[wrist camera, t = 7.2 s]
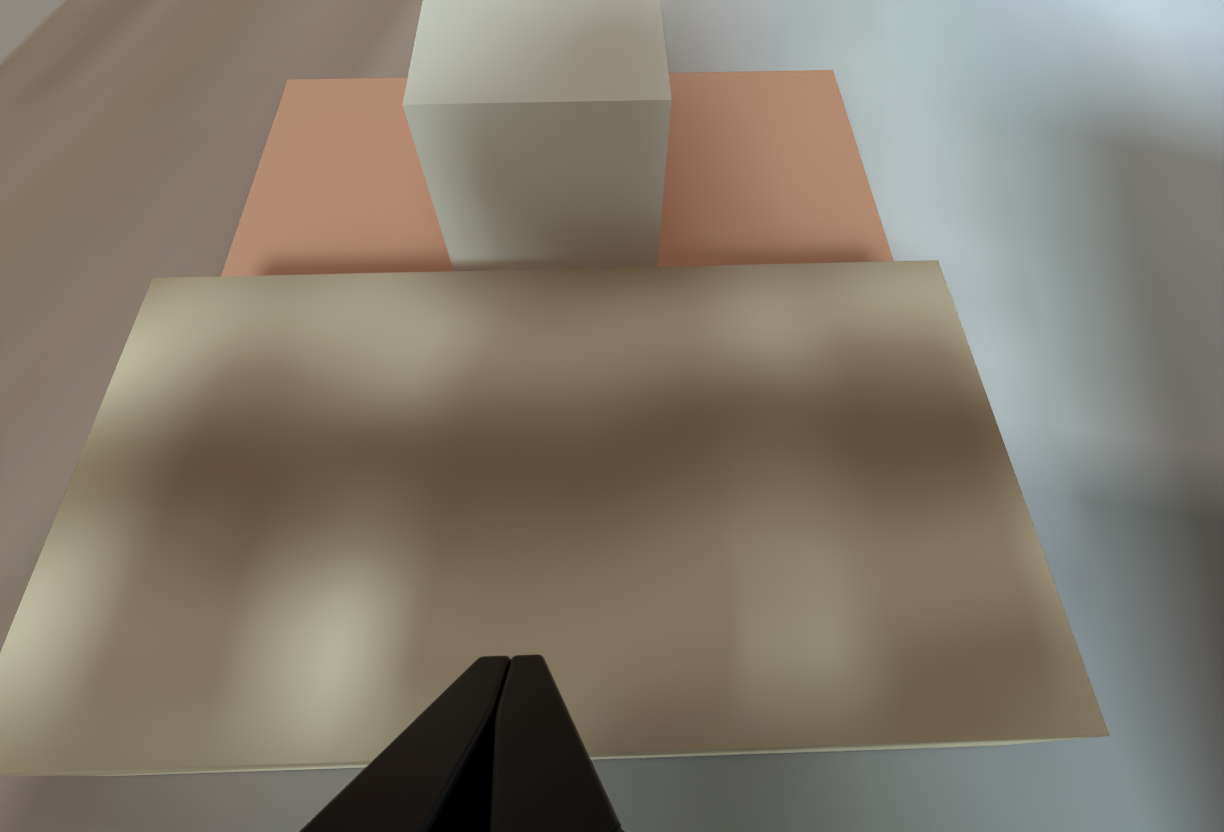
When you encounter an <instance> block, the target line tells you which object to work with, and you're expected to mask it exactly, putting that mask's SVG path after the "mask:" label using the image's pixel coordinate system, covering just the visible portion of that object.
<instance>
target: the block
mask: <svg viewBox="0 0 1224 832" xmlns="http://www.w3.org/2000/svg"><path fill="white" fill-rule="evenodd" d="M671 101H672V99H671V90H670V82H669V73H668V65H667V56H666V47H665V39H664V30H663V22H662V13H661V5H660V0H423V3H422V8H421V13H420V18H419V23H418V28H417V33H416V38H415V43H414V48H413V53H412V59H411V64H410V69H409V74H408V79H407V84H406V89H405V94H404V99H403V104H402V105H403V108H404V112H405V115H406V118H407V121H408V124H409V128H410V131H411V134H412V137H413V141H414V144H415V147H416V150H417V153H418V157H419V160H420V163H421V166H422V170H423V173H424V176H425V179H426V183H427V186H428V189H429V192H430V195H431V199H432V202H433V205H434V208H435V212H436V215H437V218H438V221H439V224H440V228H441V231H442V234H443V237H444V241H445V244H446V247H447V250H448V253H449V257H450V260H451V263H452V266H453V270H454V271H490V270H535V269H580V268H624V267H657V259H658V248H659V236H660V225H661V214H662V203H663V191H664V180H665V169H666V157H667V146H668V135H669V124H670V112H671Z"/></svg>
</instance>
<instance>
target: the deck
mask: <svg viewBox="0 0 1224 832" xmlns="http://www.w3.org/2000/svg"><path fill="white" fill-rule="evenodd" d="M535 654H539V655H542V656H543V657H544V659H545V661H546V663H547V665H548V668H549V670H550V672H551V674H552V676H553V678H554V681H555V683H556V685H557V687H558V689H559V692H560V694H561V696H562V698H563V700H564V702H565V705H566V707H567V709H568V711H569V713H570V715H571V718H572V720H573V722H574V724H575V726H576V729H577V731H578V733H579V735H580V737H581V739H582V742H583V744H584V746H585V748H586V750H587V752H588V755H589V757H590V759H591V760H593V759H622V758H652V757H681V756H711V755H740V754H770V753H799V752H829V751H858V750H888V749H917V748H947V747H976V746H998V745H1009V744H1021V743H1032V742H1044V741H1055V740H1066V739H1078V738H1089V737H1101V736H1109V733H1108V730H1107V727H1106V725H1105V722H1104V719H1103V716H1102V714H1101V711H1100V708H1099V705H1098V702H1097V700H1096V697H1095V694H1094V691H1093V689H1092V686H1091V683H1090V680H1089V678H1088V675H1087V672H1086V669H1085V666H1084V664H1083V661H1082V658H1081V655H1080V653H1079V650H1078V647H1077V644H1076V642H1075V639H1074V636H1073V633H1072V630H1071V628H1070V625H1069V622H1068V619H1067V617H1066V614H1065V611H1064V608H1063V606H1062V603H1061V600H1060V597H1059V594H1058V592H1057V589H1056V586H1055V583H1054V581H1053V578H1052V575H1051V572H1050V570H1049V567H1048V564H1047V561H1046V558H1045V556H1044V553H1043V550H1042V547H1041V545H1040V542H1039V539H1038V536H1037V534H1036V531H1035V528H1034V525H1033V522H1032V520H1031V517H1030V514H1029V511H1028V509H1027V506H1026V503H1025V500H1024V498H1023V495H1022V492H1021V489H1020V486H1019V484H1018V481H1017V478H1016V475H1015V473H1014V470H1013V467H1012V464H1011V462H1010V459H1009V456H1008V453H1007V450H1006V448H1005V445H1004V442H1003V439H1002V437H1001V434H1000V431H999V428H998V426H997V423H996V420H995V417H994V415H993V412H992V409H991V406H990V403H989V401H988V398H987V395H986V392H985V390H984V387H983V384H982V381H981V379H980V376H979V373H978V370H977V367H976V365H975V362H974V359H973V356H972V354H971V351H970V348H969V345H968V343H967V340H966V337H965V334H964V331H963V329H962V326H961V323H960V320H959V318H958V315H957V312H956V309H955V307H954V304H953V301H952V298H951V295H950V293H949V290H948V287H947V284H946V282H945V279H944V276H943V273H942V271H941V268H940V265H939V262H938V260H937V261H892V262H848V263H803V264H758V265H714V266H669V267H624V268H580V269H535V270H490V271H446V272H401V273H357V274H312V275H267V276H223V277H178V278H152V281H151V283H150V286H149V288H148V291H147V293H146V296H145V298H144V301H143V303H142V306H141V308H140V310H139V313H138V315H137V318H136V320H135V323H134V325H133V328H132V330H131V333H130V335H129V338H128V340H127V342H126V345H125V347H124V350H123V352H122V355H121V357H120V360H119V362H118V365H117V367H116V370H115V372H114V374H113V377H112V379H111V382H110V384H109V387H108V389H107V392H106V394H105V397H104V399H103V402H102V404H101V406H100V409H99V411H98V414H97V416H96V419H95V421H94V424H93V426H92V429H91V431H90V433H89V436H88V438H87V441H86V443H85V446H84V448H83V451H82V453H81V456H80V458H79V461H78V463H77V465H76V468H75V470H74V473H73V475H72V478H71V480H70V483H69V485H68V488H67V490H66V493H65V495H64V497H63V500H62V502H61V505H60V507H59V510H58V512H57V515H56V517H55V520H54V522H53V525H52V527H51V529H50V532H49V534H48V537H47V539H46V542H45V544H44V547H43V549H42V552H41V554H40V557H39V559H38V561H37V564H36V566H35V569H34V571H33V574H32V576H31V579H30V581H29V584H28V586H27V589H26V591H25V593H24V596H23V598H22V601H21V603H20V606H19V608H18V611H17V613H16V616H15V618H14V621H13V623H12V625H11V628H10V630H9V633H8V635H7V638H6V640H5V643H4V645H3V648H2V650H1V652H0V775H45V776H121V775H151V774H180V773H210V772H239V771H269V770H298V769H328V768H357V767H367V766H368V765H369V764H370V763H371V762H372V761H373V760H374V759H375V758H376V757H377V756H378V755H379V754H380V753H381V752H382V751H383V750H384V749H385V748H386V747H387V746H388V745H389V744H390V743H391V742H392V741H393V740H394V739H395V738H396V737H397V736H398V735H399V734H401V733H402V732H403V731H404V730H405V729H406V728H407V727H408V726H409V725H410V724H411V723H412V722H413V721H414V720H415V719H416V718H417V717H418V716H419V715H420V714H421V713H422V712H423V711H424V710H425V709H426V708H427V707H428V706H429V705H430V704H431V703H432V702H434V701H435V700H436V699H437V698H438V697H439V696H440V695H441V694H442V693H443V692H444V691H445V690H446V689H447V688H448V687H449V686H450V685H451V684H452V683H453V682H454V681H455V680H456V679H457V678H458V677H459V676H460V675H461V674H462V673H463V672H464V671H465V670H466V669H468V668H469V667H470V666H471V665H472V664H473V663H474V662H475V661H476V660H477V659H478V658H480V657H482V656H509V657H510V659H512V657H514V656H516V655H535Z"/></svg>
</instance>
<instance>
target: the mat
mask: <svg viewBox="0 0 1224 832" xmlns="http://www.w3.org/2000/svg"><path fill="white" fill-rule="evenodd" d="M407 79H408V78H364V79H308V80H288V81H287V84H286V87H285V90H284V93H283V96H282V99H281V102H280V105H279V108H278V111H277V113H276V116H275V119H274V122H273V125H272V128H271V131H270V134H269V137H268V140H267V143H266V146H265V149H264V152H263V155H262V157H261V160H260V163H259V166H258V169H257V172H256V175H255V178H254V181H253V184H252V187H251V190H250V193H249V196H248V199H247V202H246V204H245V207H244V210H243V213H242V216H241V219H240V222H239V225H238V228H237V231H236V234H235V237H234V240H233V243H232V246H231V248H230V251H229V254H228V257H227V260H226V263H225V266H224V269H223V272H222V275H221V277H223V276H267V275H312V274H357V273H401V272H446V271H454V270H453V266H452V263H451V260H450V257H449V253H448V250H447V247H446V244H445V241H444V237H443V234H442V231H441V228H440V224H439V221H438V218H437V215H436V212H435V208H434V205H433V202H432V199H431V195H430V192H429V189H428V186H427V183H426V179H425V176H424V173H423V170H422V166H421V163H420V160H419V157H418V153H417V150H416V147H415V144H414V141H413V137H412V134H411V131H410V128H409V124H408V121H407V118H406V115H405V112H404V108H403V105H402V104H403V99H404V94H405V89H406V84H407ZM669 82H670V90H671V99H672V101H671V112H670V124H669V135H668V146H667V157H666V169H665V180H664V191H663V203H662V214H661V225H660V236H659V248H658V259H657V267H669V266H714V265H758V264H803V263H848V262H892V261H893V258H892V255H891V252H890V249H889V246H888V243H887V239H886V236H885V233H884V230H883V227H882V224H881V221H880V217H879V214H878V211H877V208H876V205H875V202H874V198H873V195H872V192H871V189H870V186H869V183H868V180H867V176H866V173H865V170H864V167H863V164H862V161H861V157H860V154H859V151H858V148H857V145H856V142H855V139H854V135H853V132H852V129H851V126H850V123H849V120H848V116H847V113H846V110H845V107H844V104H843V101H842V98H841V94H840V91H839V88H838V85H837V82H836V79H835V75H834V72H833V70H812V71H756V72H700V73H669Z"/></svg>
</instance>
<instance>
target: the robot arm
mask: <svg viewBox="0 0 1224 832" xmlns="http://www.w3.org/2000/svg"><path fill="white" fill-rule="evenodd" d="M300 832H624V831H623V830H622V829H621V824H620V822H619V820H618V818H617V816H616V813H615V811H614V809H613V807H612V805H611V802H610V800H609V798H608V796H607V794H606V792H605V789H604V787H603V785H602V783H601V781H600V779H599V776H598V774H597V772H596V770H595V768H594V765H593V763H592V761H591V759H590V757H589V755H588V752H587V750H586V748H585V746H584V744H583V742H582V739H581V737H580V735H579V733H578V731H577V729H576V726H575V724H574V722H573V720H572V718H571V715H570V713H569V711H568V709H567V707H566V705H565V702H564V700H563V698H562V696H561V694H560V692H559V689H558V687H557V685H556V683H555V681H554V678H553V676H552V674H551V672H550V670H549V668H548V665H547V663H546V661H545V659H544V657H543V656H542V655H539V654H535V655H516V656H514V657H512V659H510V657H509V656H482V657H480V658H478V659H477V660H476V661H475V662H474V663H473V664H472V665H471V666H470V667H469V668H468V669H466V670H465V671H464V672H463V673H462V674H461V675H460V676H459V677H458V678H457V679H456V680H455V681H454V682H453V683H452V684H451V685H450V686H449V687H448V688H447V689H446V690H445V691H444V692H443V693H442V694H441V695H440V696H439V697H438V698H437V699H436V700H435V701H434V702H432V703H431V704H430V705H429V706H428V707H427V708H426V709H425V710H424V711H423V712H422V713H421V714H420V715H419V716H418V717H417V718H416V719H415V720H414V721H413V722H412V723H411V724H410V725H409V726H408V727H407V728H406V729H405V730H404V731H403V732H402V733H401V734H399V735H398V736H397V737H396V738H395V739H394V740H393V741H392V742H391V743H390V744H389V745H388V746H387V747H386V748H385V749H384V750H383V751H382V752H381V753H380V754H379V755H378V756H377V757H376V758H375V759H374V760H373V761H372V762H371V763H370V764H369V765H368V766H367V767H365V768H364V769H363V770H362V771H361V772H360V773H359V774H358V775H357V776H356V777H355V778H354V779H353V780H352V781H351V782H350V783H349V784H348V785H347V786H346V787H345V788H344V789H343V790H342V791H341V792H340V793H339V794H338V795H337V796H336V797H335V798H334V799H332V800H331V801H330V802H329V803H328V804H327V805H326V806H325V807H324V808H323V809H322V810H321V811H320V812H319V813H318V814H317V815H316V816H315V817H314V818H313V819H312V820H311V821H310V822H309V823H308V824H307V825H306V826H305V827H304V828H303V829H302V830H301V831H300Z"/></svg>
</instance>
